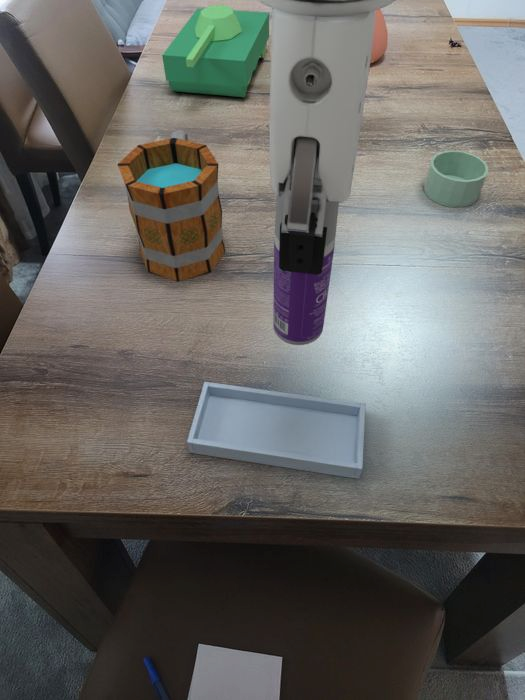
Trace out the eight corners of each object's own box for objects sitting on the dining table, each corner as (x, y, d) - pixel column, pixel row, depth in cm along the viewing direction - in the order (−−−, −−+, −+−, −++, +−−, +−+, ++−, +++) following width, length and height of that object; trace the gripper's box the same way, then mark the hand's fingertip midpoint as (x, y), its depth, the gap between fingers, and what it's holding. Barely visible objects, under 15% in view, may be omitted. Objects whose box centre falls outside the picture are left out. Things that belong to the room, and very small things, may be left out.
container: (320, 348, 44) (340, 208, 32) (269, 342, 45) (269, 202, 33) (325, 310, 47) (344, 169, 35) (277, 304, 48) (279, 163, 36)
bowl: (475, 178, 89) (485, 152, 85) (480, 209, 83) (491, 183, 79) (422, 173, 90) (429, 148, 86) (424, 204, 84) (432, 178, 80)
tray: (362, 415, 59) (365, 403, 57) (358, 479, 54) (362, 469, 52) (206, 393, 61) (204, 381, 59) (189, 452, 56) (186, 442, 54)
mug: (223, 281, 73) (215, 194, 61) (132, 281, 73) (107, 194, 61) (229, 201, 85) (223, 116, 73) (152, 201, 85) (133, 116, 73)
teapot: (387, 79, 113) (398, 17, 104) (319, 76, 114) (324, 15, 105) (383, 41, 127) (393, -17, 117) (322, 38, 128) (327, -19, 118)
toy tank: (146, 50, 95) (195, -10, 116) (157, 114, 104) (201, 47, 125) (235, 56, 92) (269, -7, 113) (238, 121, 102) (269, 52, 123)
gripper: (405, 24, 18) (345, 335, 33) (405, -86, 29) (359, 188, 43) (210, 13, 19) (235, 321, 34) (278, -90, 29) (274, 180, 44)
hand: (305, 244), depth 38 cm, fingers closed on container, 4 cm apart
